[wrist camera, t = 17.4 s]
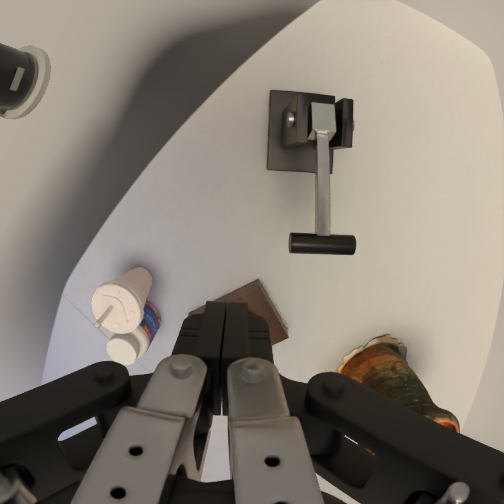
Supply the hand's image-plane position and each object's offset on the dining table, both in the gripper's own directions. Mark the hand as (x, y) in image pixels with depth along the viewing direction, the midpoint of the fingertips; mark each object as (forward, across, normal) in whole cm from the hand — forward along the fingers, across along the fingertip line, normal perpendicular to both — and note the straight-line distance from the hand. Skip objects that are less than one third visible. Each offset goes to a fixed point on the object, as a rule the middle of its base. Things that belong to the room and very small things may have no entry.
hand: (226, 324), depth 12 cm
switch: (+18, -7, -4) cm, 19 cm away
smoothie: (+29, +14, +10) cm, 34 cm away
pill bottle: (+29, +14, +16) cm, 36 cm away
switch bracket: (+29, -7, -10) cm, 31 cm away
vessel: (+29, -22, +26) cm, 44 cm away
